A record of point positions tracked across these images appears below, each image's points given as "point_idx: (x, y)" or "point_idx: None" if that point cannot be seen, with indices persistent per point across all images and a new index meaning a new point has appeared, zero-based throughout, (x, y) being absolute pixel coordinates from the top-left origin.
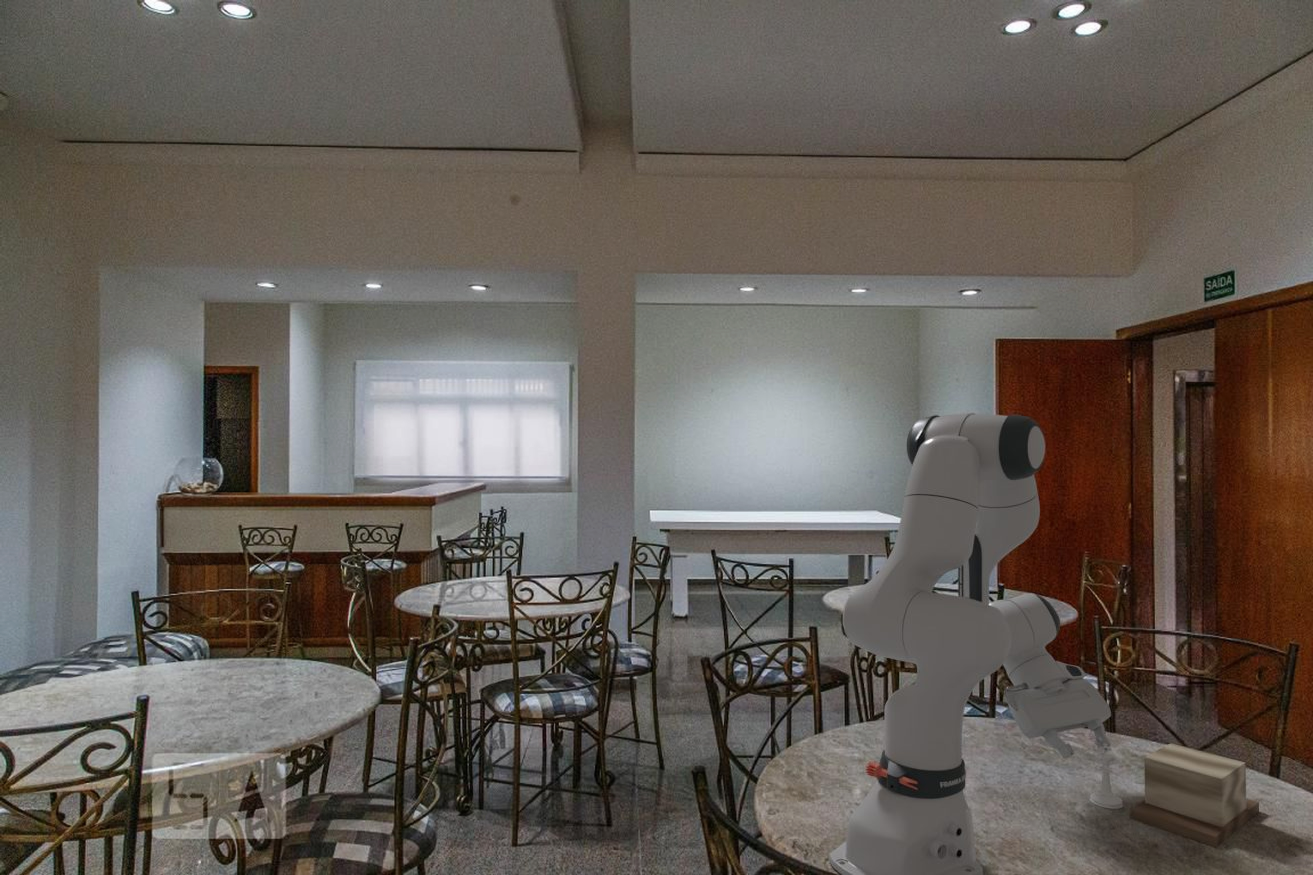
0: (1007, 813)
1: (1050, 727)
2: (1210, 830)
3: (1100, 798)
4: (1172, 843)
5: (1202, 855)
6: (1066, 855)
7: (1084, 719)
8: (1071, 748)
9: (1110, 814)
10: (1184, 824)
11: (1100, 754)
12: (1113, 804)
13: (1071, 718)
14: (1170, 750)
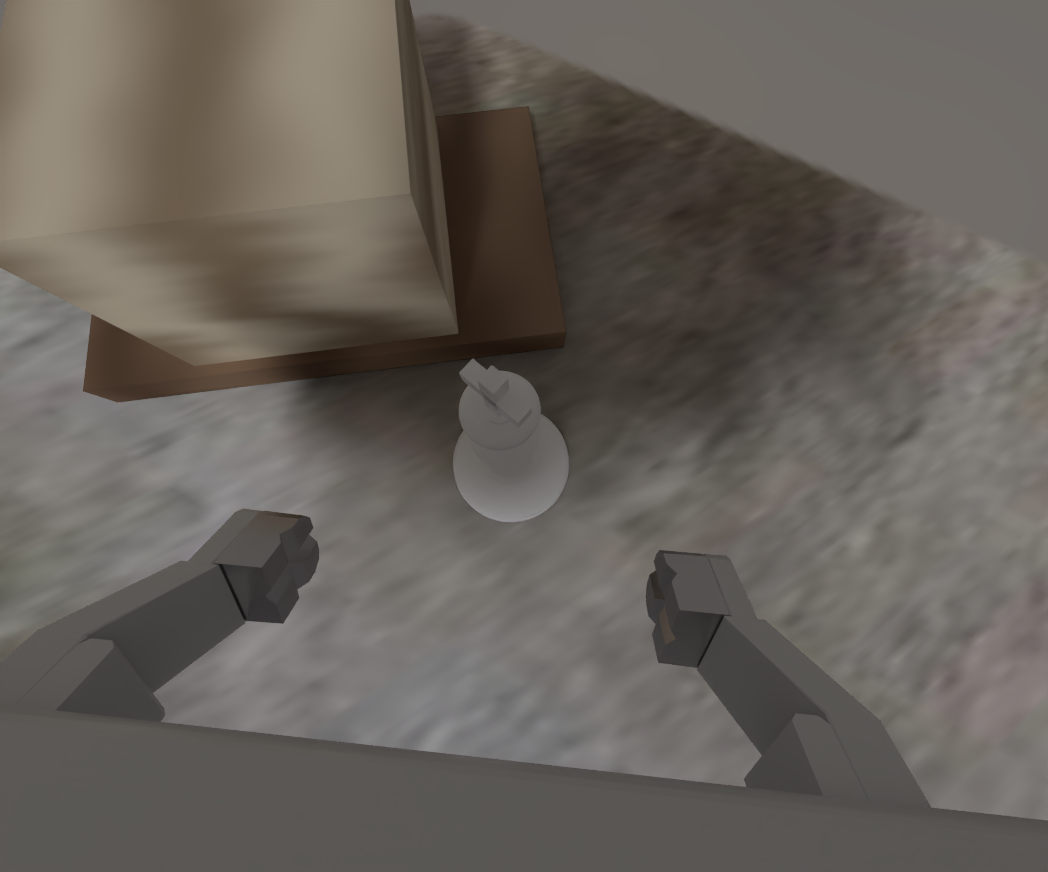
0: (980, 605)
1: (978, 815)
2: (493, 132)
3: (551, 459)
4: (620, 197)
5: (615, 129)
6: (1008, 301)
7: (243, 742)
8: (677, 573)
9: (599, 396)
10: (521, 186)
11: (522, 430)
12: (540, 414)
13: (482, 832)
14: (128, 180)
